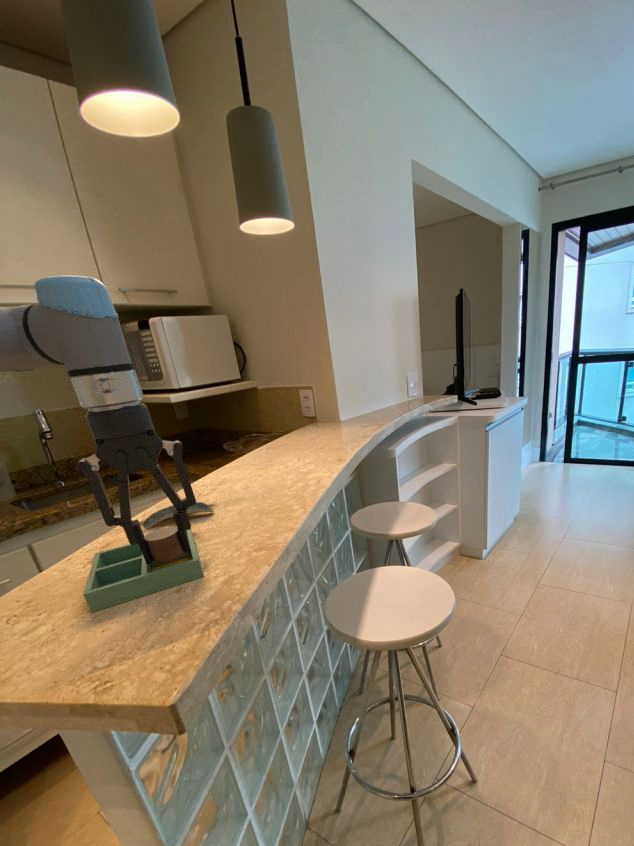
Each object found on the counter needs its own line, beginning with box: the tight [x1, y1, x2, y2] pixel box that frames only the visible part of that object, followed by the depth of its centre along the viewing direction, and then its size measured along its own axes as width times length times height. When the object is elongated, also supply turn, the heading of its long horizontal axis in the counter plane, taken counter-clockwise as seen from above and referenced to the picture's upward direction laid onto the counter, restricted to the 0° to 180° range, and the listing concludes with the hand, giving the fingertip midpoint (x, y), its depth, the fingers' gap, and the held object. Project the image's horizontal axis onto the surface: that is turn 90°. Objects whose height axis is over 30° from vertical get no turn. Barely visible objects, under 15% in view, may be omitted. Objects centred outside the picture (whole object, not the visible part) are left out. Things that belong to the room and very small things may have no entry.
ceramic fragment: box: [142, 501, 215, 530], centre depth 89 cm, size 14×5×4 cm, turn 109°
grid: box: [83, 528, 205, 613], centre depth 67 cm, size 15×15×3 cm
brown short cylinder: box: [144, 525, 186, 563], centre depth 64 cm, size 5×5×4 cm
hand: (168, 554), depth 65 cm, fingers closed on brown short cylinder, 5 cm apart
